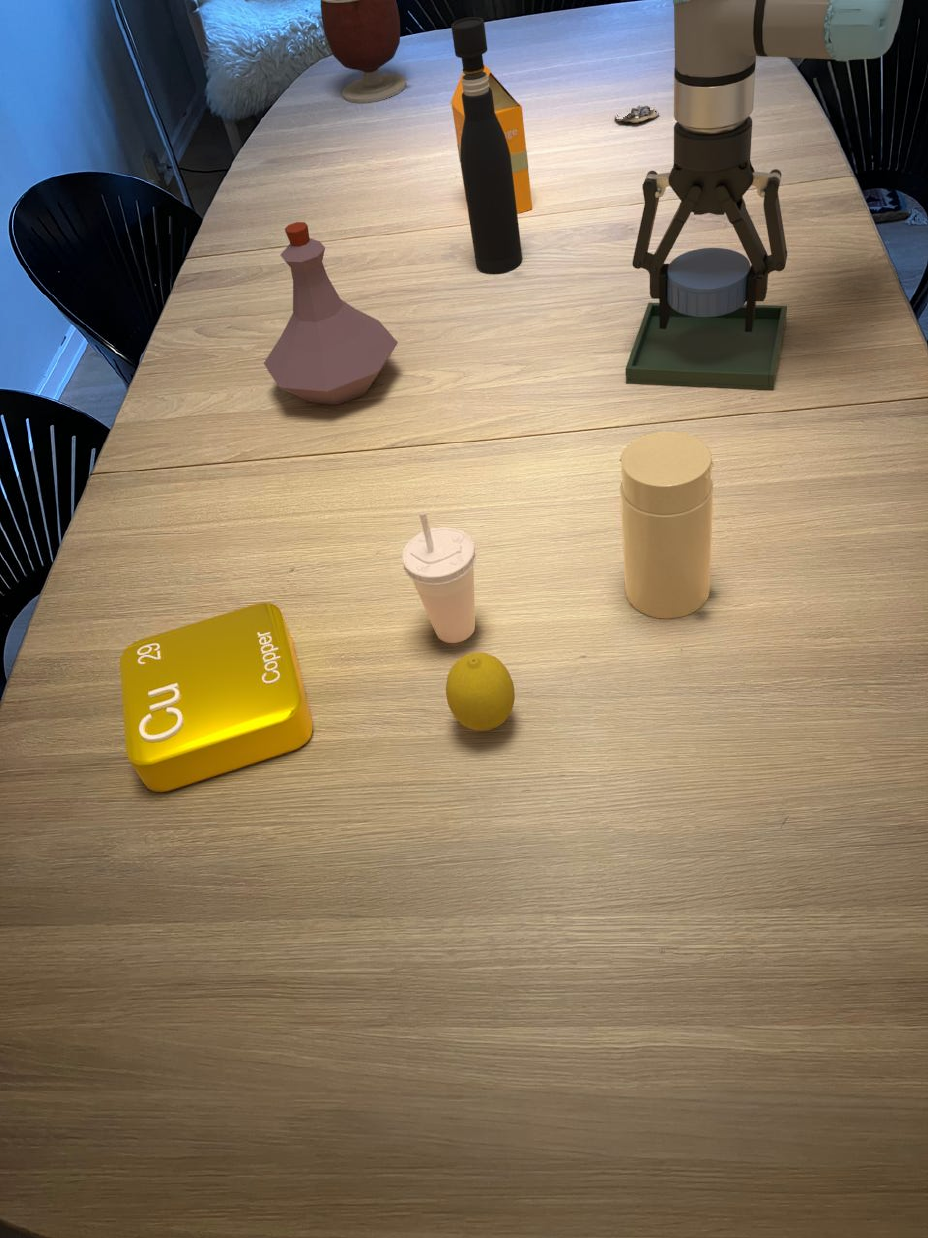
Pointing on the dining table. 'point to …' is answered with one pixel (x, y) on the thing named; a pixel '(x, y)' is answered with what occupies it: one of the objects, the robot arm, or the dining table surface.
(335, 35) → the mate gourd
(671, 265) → the lid
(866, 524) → the dining table surface
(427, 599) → the smoothie
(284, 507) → the dining table surface
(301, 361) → the flask
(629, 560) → the jar
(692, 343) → the tray
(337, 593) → the dining table surface
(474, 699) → the lemon
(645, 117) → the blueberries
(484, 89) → the black water bottle
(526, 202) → the orange juice
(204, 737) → the element tile
